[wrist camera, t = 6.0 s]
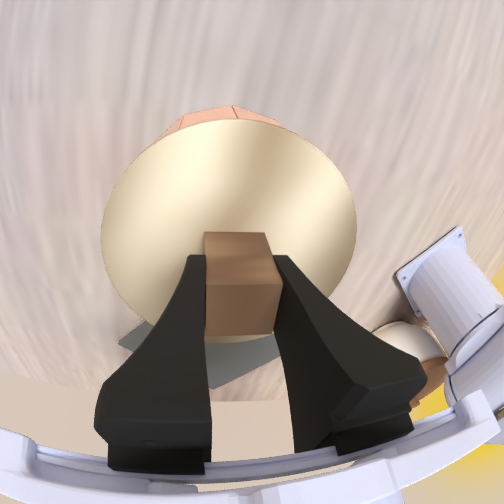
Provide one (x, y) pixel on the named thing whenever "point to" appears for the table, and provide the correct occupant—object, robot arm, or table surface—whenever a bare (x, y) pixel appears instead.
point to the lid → (227, 222)
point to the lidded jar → (417, 352)
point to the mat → (220, 355)
